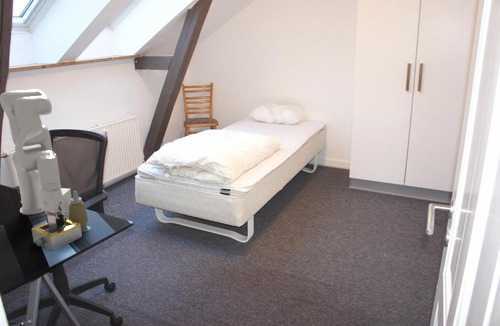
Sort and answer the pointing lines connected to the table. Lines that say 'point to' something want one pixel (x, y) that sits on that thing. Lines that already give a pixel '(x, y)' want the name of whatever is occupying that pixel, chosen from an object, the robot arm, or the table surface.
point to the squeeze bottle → (78, 210)
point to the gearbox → (56, 235)
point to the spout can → (53, 221)
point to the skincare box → (66, 200)
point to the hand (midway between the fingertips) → (55, 223)
